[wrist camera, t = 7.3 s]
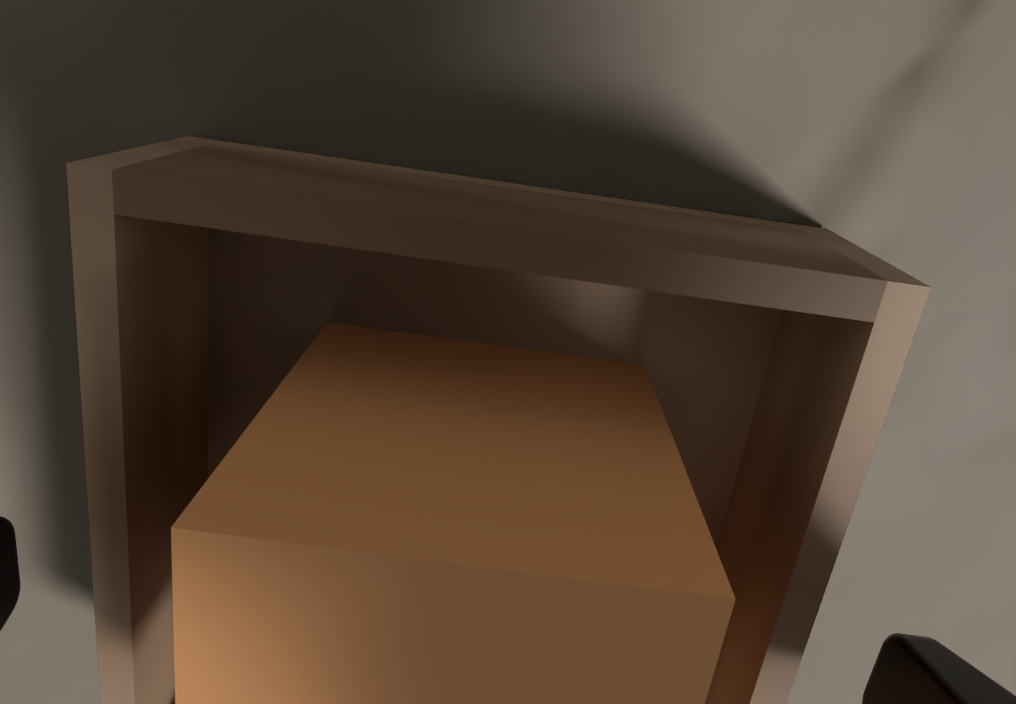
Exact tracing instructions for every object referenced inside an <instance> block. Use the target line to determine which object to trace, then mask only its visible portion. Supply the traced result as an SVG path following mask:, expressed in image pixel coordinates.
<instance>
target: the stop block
mask: <svg viewBox="0 0 1016 704" xmlns="http://www.w3.org/2000/svg"><path fill="white" fill-rule="evenodd" d="M171 550H172V589H173V628H174V667H175V704H705V702H706V698H707V695H708V692H709V688H710V685H711V681H712V678H713V675H714V671H715V668H716V664H717V661H718V658H719V654H720V651H721V647H722V644H723V640H724V637H725V634H726V630H727V627H728V623H729V620H730V617H731V613H732V610H733V606H734V603H735V600H736V599H735V596H734V593H733V591H732V588H731V586H730V583H729V581H728V578H727V575H726V573H725V570H724V568H723V565H722V563H721V560H720V557H719V555H718V552H717V550H716V547H715V545H714V542H713V539H712V537H711V534H710V532H709V529H708V526H707V524H706V521H705V519H704V516H703V514H702V511H701V508H700V506H699V503H698V501H697V498H696V496H695V493H694V490H693V488H692V485H691V483H690V480H689V478H688V475H687V472H686V470H685V467H684V465H683V462H682V460H681V457H680V454H679V452H678V449H677V447H676V444H675V441H674V439H673V436H672V434H671V431H670V429H669V426H668V423H667V421H666V418H665V416H664V413H663V411H662V408H661V405H660V403H659V400H658V398H657V395H656V393H655V390H654V387H653V385H652V382H651V380H650V377H649V375H648V372H647V369H646V367H645V365H643V364H636V363H628V362H621V361H613V360H606V359H598V358H591V357H583V356H576V355H569V354H561V353H554V352H546V351H539V350H531V349H524V348H516V347H509V346H502V345H494V344H487V343H479V342H472V341H464V340H457V339H449V338H442V337H435V336H427V335H420V334H412V333H405V332H397V331H390V330H382V329H375V328H368V327H360V326H353V325H345V324H338V323H330V322H327V323H326V325H325V326H324V327H323V329H322V330H321V331H320V332H319V334H318V335H317V336H316V338H315V339H314V340H313V342H312V343H311V344H310V346H309V347H308V348H307V350H306V351H305V352H304V353H303V355H302V356H301V357H300V359H299V360H298V361H297V363H296V364H295V365H294V367H293V368H292V369H291V371H290V372H289V373H288V374H287V376H286V377H285V378H284V380H283V381H282V382H281V384H280V385H279V386H278V388H277V389H276V390H275V392H274V393H273V394H272V396H271V397H270V398H269V399H268V401H267V402H266V403H265V405H264V406H263V407H262V409H261V410H260V411H259V413H258V414H257V415H256V417H255V418H254V419H253V420H252V422H251V423H250V424H249V426H248V427H247V428H246V430H245V431H244V432H243V434H242V435H241V436H240V438H239V439H238V440H237V441H236V443H235V444H234V445H233V447H232V448H231V449H230V451H229V452H228V453H227V455H226V456H225V457H224V459H223V460H222V461H221V462H220V464H219V465H218V466H217V468H216V469H215V470H214V472H213V473H212V474H211V476H210V477H209V478H208V480H207V481H206V482H205V483H204V485H203V486H202V487H201V489H200V490H199V491H198V493H197V494H196V495H195V497H194V498H193V499H192V501H191V502H190V503H189V505H188V506H187V507H186V508H185V510H184V511H183V512H182V514H181V515H180V516H179V518H178V519H177V520H176V522H175V523H174V524H173V526H172V527H171Z"/></svg>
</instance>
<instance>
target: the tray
mask: <svg viewBox="0 0 1016 704" xmlns="http://www.w3.org/2000/svg"><path fill="white" fill-rule="evenodd" d="M66 170H67V186H68V201H69V217H70V233H71V248H72V264H73V280H74V295H75V311H76V327H77V343H78V358H79V374H80V390H81V405H82V421H83V437H84V452H85V468H86V484H87V500H88V515H89V531H90V547H91V562H92V578H93V594H94V609H95V625H96V641H97V657H98V672H99V688H100V704H175V667H174V628H173V589H172V550H171V527H172V526H173V524H174V523H175V522H176V520H177V519H178V518H179V516H180V515H181V514H182V512H183V511H184V510H185V508H186V507H187V506H188V505H189V503H190V502H191V501H192V499H193V498H194V497H195V495H196V494H197V493H198V491H199V490H200V489H201V487H202V486H203V485H204V483H205V482H206V481H207V480H208V478H209V477H210V476H211V474H212V473H213V472H214V470H215V469H216V468H217V466H218V465H219V464H220V462H221V461H222V460H223V459H224V457H225V456H226V455H227V453H228V452H229V451H230V449H231V448H232V447H233V445H234V444H235V443H236V441H237V440H238V439H239V438H240V436H241V435H242V434H243V432H244V431H245V430H246V428H247V427H248V426H249V424H250V423H251V422H252V420H253V419H254V418H255V417H256V415H257V414H258V413H259V411H260V410H261V409H262V407H263V406H264V405H265V403H266V402H267V401H268V399H269V398H270V397H271V396H272V394H273V393H274V392H275V390H276V389H277V388H278V386H279V385H280V384H281V382H282V381H283V380H284V378H285V377H286V376H287V374H288V373H289V372H290V371H291V369H292V368H293V367H294V365H295V364H296V363H297V361H298V360H299V359H300V357H301V356H302V355H303V353H304V352H305V351H306V350H307V348H308V347H309V346H310V344H311V343H312V342H313V340H314V339H315V338H316V336H317V335H318V334H319V332H320V331H321V330H322V329H323V327H324V326H325V325H326V323H327V322H330V323H338V324H345V325H353V326H360V327H368V328H375V329H382V330H390V331H397V332H405V333H412V334H420V335H427V336H435V337H442V338H449V339H457V340H464V341H472V342H479V343H487V344H494V345H502V346H509V347H516V348H524V349H531V350H539V351H546V352H554V353H561V354H569V355H576V356H583V357H591V358H598V359H606V360H613V361H621V362H628V363H636V364H643V365H645V367H646V369H647V372H648V375H649V377H650V380H651V382H652V385H653V387H654V390H655V393H656V395H657V398H658V400H659V403H660V405H661V408H662V411H663V413H664V416H665V418H666V421H667V423H668V426H669V429H670V431H671V434H672V436H673V439H674V441H675V444H676V447H677V449H678V452H679V454H680V457H681V460H682V462H683V465H684V467H685V470H686V472H687V475H688V478H689V480H690V483H691V485H692V488H693V490H694V493H695V496H696V498H697V501H698V503H699V506H700V508H701V511H702V514H703V516H704V519H705V521H706V524H707V526H708V529H709V532H710V534H711V537H712V539H713V542H714V545H715V547H716V550H717V552H718V555H719V557H720V560H721V563H722V565H723V568H724V570H725V573H726V575H727V578H728V581H729V583H730V586H731V588H732V591H733V593H734V596H735V599H736V600H735V603H734V606H733V610H732V613H731V617H730V620H729V623H728V627H727V630H726V634H725V637H724V640H723V644H722V647H721V651H720V654H719V658H718V661H717V664H716V668H715V671H714V675H713V678H712V681H711V685H710V688H709V692H708V695H707V698H706V702H705V704H786V701H787V698H788V696H789V693H790V690H791V687H792V684H793V681H794V678H795V676H796V673H797V670H798V667H799V664H800V661H801V658H802V655H803V653H804V650H805V647H806V644H807V641H808V638H809V635H810V633H811V630H812V627H813V624H814V621H815V618H816V615H817V613H818V610H819V607H820V604H821V601H822V598H823V595H824V592H825V590H826V587H827V584H828V581H829V578H830V575H831V572H832V570H833V567H834V564H835V561H836V558H837V555H838V552H839V549H840V547H841V544H842V541H843V538H844V535H845V532H846V529H847V527H848V524H849V521H850V518H851V515H852V512H853V509H854V507H855V504H856V501H857V498H858V495H859V492H860V489H861V486H862V484H863V481H864V478H865V475H866V472H867V469H868V466H869V464H870V461H871V458H872V455H873V452H874V449H875V446H876V444H877V441H878V438H879V435H880V432H881V429H882V426H883V423H884V421H885V418H886V415H887V412H888V409H889V406H890V403H891V401H892V398H893V395H894V392H895V389H896V386H897V383H898V381H899V378H900V375H901V372H902V369H903V366H904V363H905V360H906V358H907V355H908V352H909V349H910V346H911V343H912V340H913V338H914V335H915V332H916V329H917V326H918V323H919V320H920V317H921V315H922V312H923V309H924V306H925V303H926V300H927V297H928V295H929V292H930V289H931V287H930V286H928V285H926V284H924V283H922V282H921V281H919V280H917V279H915V278H914V277H912V276H910V275H908V274H906V273H905V272H903V271H901V270H899V269H897V268H896V267H894V266H892V265H890V264H889V263H887V262H885V261H883V260H881V259H880V258H878V257H876V256H874V255H873V254H871V253H869V252H867V251H865V250H864V249H862V248H860V247H858V246H856V245H855V244H853V243H851V242H849V241H848V240H846V239H844V238H842V237H840V236H839V235H837V234H835V233H833V232H831V231H830V230H828V229H825V228H818V227H811V226H804V225H797V224H791V223H784V222H777V221H770V220H763V219H756V218H749V217H742V216H735V215H729V214H722V213H715V212H708V211H701V210H694V209H687V208H680V207H674V206H667V205H660V204H653V203H646V202H639V201H632V200H625V199H619V198H612V197H605V196H598V195H591V194H584V193H577V192H570V191H564V190H557V189H550V188H543V187H536V186H529V185H522V184H515V183H509V182H502V181H495V180H488V179H481V178H474V177H467V176H460V175H454V174H447V173H440V172H433V171H426V170H419V169H412V168H405V167H399V166H392V165H385V164H378V163H371V162H364V161H357V160H350V159H344V158H337V157H330V156H323V155H316V154H309V153H302V152H295V151H288V150H282V149H275V148H268V147H261V146H254V145H247V144H240V143H233V142H227V141H220V140H213V139H206V138H199V137H192V136H185V137H180V138H176V139H172V140H167V141H163V142H158V143H154V144H149V145H145V146H140V147H136V148H131V149H127V150H122V151H118V152H113V153H109V154H104V155H100V156H95V157H91V158H86V159H82V160H77V161H73V162H68V163H66Z"/></svg>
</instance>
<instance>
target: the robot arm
mask: <svg viewBox="0 0 1016 704" xmlns="http://www.w3.org/2000/svg"><path fill="white" fill-rule="evenodd" d="M19 592H20V576H19V566H18V557H17V547H16V538H15V531H14V527H13V525H12V523H11V522H10V521H9V520H8V519H6V518H4V517H0V631H1V629H2V628H3V626H4V625H5V623H6V621H7V620H8V618H9V616H10V615H11V613H12V611H13V609H14V608H15V605H16V603H17V600H18V597H19ZM862 704H1016V696H1015V695H1013V694H1012V693H1011V692H1009V691H1008V690H1006V689H1005V688H1003V687H1002V686H1000V685H999V684H998V683H996V682H995V681H993V680H992V679H990V678H989V677H988V676H986V675H985V674H983V673H982V672H980V671H979V670H978V669H976V668H975V667H973V666H972V665H970V664H969V663H968V662H966V661H965V660H963V659H962V658H960V657H959V656H958V655H956V654H955V653H953V652H952V651H950V650H949V649H948V648H946V647H945V646H943V645H942V644H940V643H939V642H938V641H936V640H934V639H932V638H929V637H923V636H916V635H908V634H900V633H895V634H892V635H890V636H888V637H887V638H886V639H885V641H884V643H883V645H882V647H881V649H880V652H879V655H878V657H877V660H876V662H875V665H874V667H873V670H872V672H871V675H870V678H869V680H868V683H867V685H866V688H865V691H864V694H863V701H862Z"/></svg>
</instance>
